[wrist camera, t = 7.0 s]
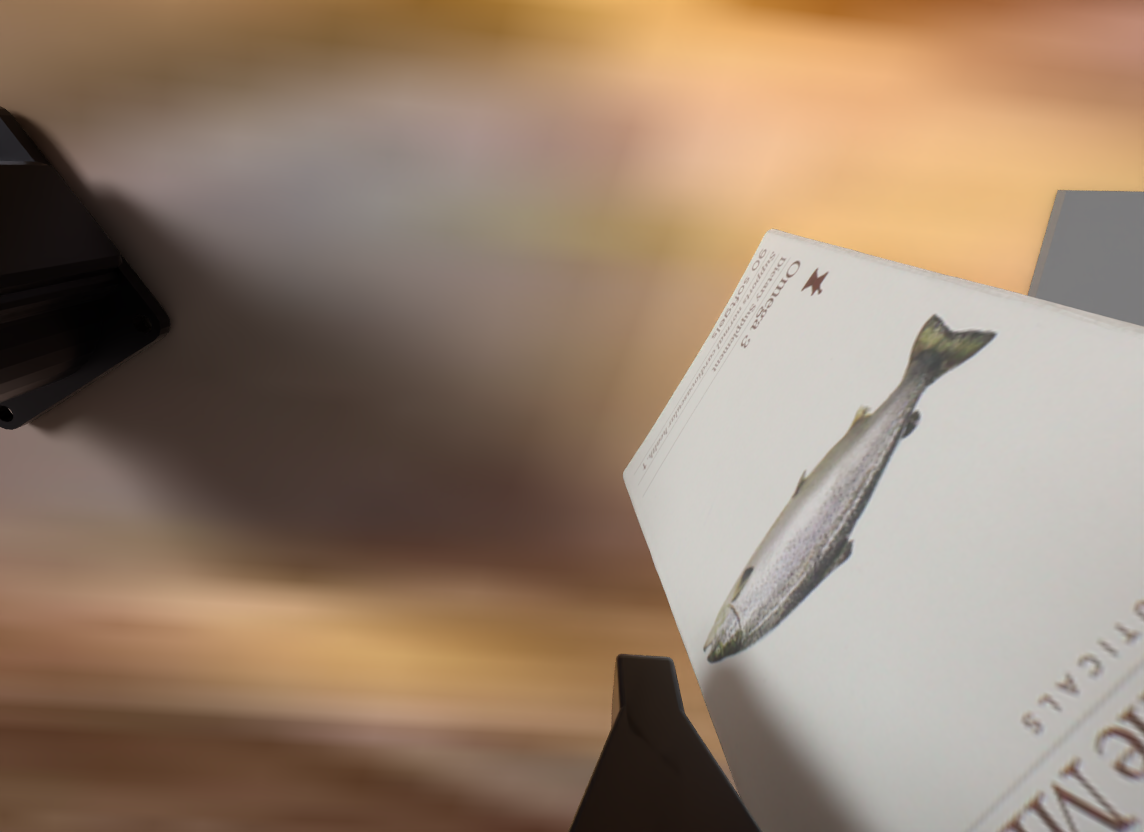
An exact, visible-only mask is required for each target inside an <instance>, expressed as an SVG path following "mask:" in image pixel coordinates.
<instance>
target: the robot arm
mask: <svg viewBox="0 0 1144 832" xmlns="http://www.w3.org/2000/svg"><path fill="white" fill-rule="evenodd" d="M143 315H144V316H146V317H147V318H148V319H149V320H150V322H151V329H150V328H148V327H147V326H146V325H145V323H144V321H143ZM169 330H170V319H169V317H168V315H167V314H166V312H165V311H164V309H163V308H162V307H161V305H160V304H159V303H158V302H157V300H156V299H155V298H154V296H153V295H152V294H151V293H150V291H149V290H148V289H147V287H146V286H145V285H144V284H143V282H142V281H141V280H140V278H139V277H138V276H137V275H136V273H135V272H134V271H133V270H132V268H131V267H130V266H129V264H128V263H127V262H126V261H125V259H124V258H123V257H122V255H121V254H120V252H119V251H118V249H117V248H116V247H115V245H114V244H113V243H112V242H111V240H110V239H109V238H108V237H107V235H106V234H105V233H104V231H103V230H102V229H101V228H100V226H99V225H98V224H97V222H96V221H95V220H94V219H93V217H92V216H91V215H90V213H89V212H88V211H87V210H86V208H85V207H84V206H83V204H82V203H81V202H80V201H79V199H78V198H77V197H76V195H75V194H74V193H73V192H72V190H71V189H70V188H69V186H68V185H67V184H66V183H65V181H64V180H63V179H62V178H61V176H60V175H59V174H58V172H57V171H56V170H55V169H54V168H53V167H52V166H51V164H50V163H49V162H48V161H47V159H46V158H45V157H44V155H43V154H42V153H41V152H40V150H39V149H38V148H37V146H36V145H35V144H34V143H33V141H32V140H31V139H30V137H29V136H28V135H27V134H26V132H25V131H24V130H23V128H22V127H21V126H20V125H19V123H18V122H17V121H16V120H15V118H14V117H13V116H12V115H11V114H10V113H9V112H8V111H7V110H6V109H4V108H2V107H0V427H2V428H4V429H10V430H13V429H16V428H19V427H21V426H23V425H25V424H28V423H30V422H31V421H33V420H35V419H36V418H38V417H39V416H41V415H42V414H44V413H46V412H47V411H49V410H50V409H52V408H53V407H55V406H57V405H58V404H60V403H61V402H63V401H64V400H66V399H68V398H69V397H71V396H72V395H74V394H75V393H77V392H78V391H80V390H82V389H83V388H85V387H86V386H88V385H89V384H91V383H93V382H94V381H96V380H97V379H99V378H100V377H102V376H104V375H105V374H107V373H108V372H110V371H111V370H113V369H114V368H116V367H118V366H119V365H121V364H122V363H124V362H125V361H127V360H129V359H130V358H132V357H133V356H135V355H136V354H138V353H140V352H141V351H143V350H144V349H146V348H147V347H149V346H151V345H152V344H154V343H155V342H157V341H158V340H160V339H161V338H163V337H165V336H166V335H167V333H168V332H169ZM8 408H9V409H10V410H11V411H12V413H13V414H12V413H11V412H10V410H9V409H8ZM568 832H762V830H761V829H760V827H759V826H758V824H757V823H756V821H755V820H754V818H753V816H752V815H751V813H750V812H749V810H748V809H747V807H746V806H745V804H744V803H743V801H742V800H741V798H740V797H739V795H738V794H737V792H736V791H735V789H734V788H733V786H732V784H731V783H730V781H729V780H728V778H727V777H726V775H725V774H724V772H723V771H722V769H721V768H720V766H719V765H718V763H717V762H716V760H715V759H714V757H713V756H712V754H711V752H710V751H709V749H708V748H707V746H706V745H705V743H704V742H703V740H702V739H701V737H700V736H699V734H698V733H697V731H696V730H695V728H694V727H693V725H692V724H691V722H690V720H689V719H688V717H687V716H686V714H685V712H684V708H683V703H682V698H681V694H680V689H679V684H678V680H677V675H676V670H675V666H674V662H673V660H672V659H671V658H669V657H660V656H643V655H630V654H620V655H618V656H617V658H616V662H615V674H614V686H613V699H612V725H611V731H610V733H609V736H608V738H607V740H606V743H605V745H604V747H603V750H602V752H601V755H600V757H599V759H598V762H597V764H596V766H595V769H594V771H593V774H592V776H591V778H590V781H589V783H588V786H587V788H586V790H585V793H584V795H583V797H582V800H581V802H580V805H579V807H578V809H577V812H576V814H575V816H574V819H573V821H572V824H571V826H570V828H569V831H568Z"/></svg>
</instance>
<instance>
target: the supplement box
mask: <svg viewBox="0 0 1144 832" xmlns="http://www.w3.org/2000/svg"><path fill="white" fill-rule="evenodd" d="M623 479H624V482H625V485H626V488H627V490H628V493H629V496H630V499H631V501H632V504H633V507H634V510H635V513H636V515H637V518H638V521H639V524H640V527H641V529H642V532H643V534H644V537H645V540H646V542H647V545H648V547H649V550H650V553H651V556H652V559H653V562H654V565H655V568H656V570H657V573H658V575H659V577H660V580H661V583H662V586H663V588H664V591H665V593H666V596H667V599H668V602H669V605H670V608H671V611H672V613H673V616H674V619H675V621H676V624H677V627H678V629H679V632H680V635H681V638H682V640H683V643H684V646H685V648H686V651H687V654H688V656H689V659H690V662H691V664H692V667H693V670H694V672H695V675H696V678H697V680H698V683H699V686H700V689H701V692H702V695H703V698H704V701H705V703H706V706H707V709H708V712H709V714H710V717H711V720H712V722H713V725H714V728H715V730H716V733H717V735H718V738H719V741H720V744H721V746H722V749H723V752H724V755H725V757H726V760H727V763H728V766H729V769H730V771H731V774H732V777H733V779H734V782H735V785H736V787H737V790H738V793H739V795H740V798H741V800H742V801H743V803H744V804H745V806H746V807H747V809H748V810H749V812H750V813H751V815H752V816H753V818H754V820H755V821H756V823H757V824H758V826H759V827H760V829H761V830H762V832H1144V327H1143V326H1140V325H1136V324H1132V323H1128V322H1124V321H1121V320H1117V319H1113V318H1109V317H1105V316H1102V315H1098V314H1094V313H1090V312H1086V311H1083V310H1079V309H1075V308H1072V307H1068V306H1064V305H1060V304H1057V303H1053V302H1049V301H1046V300H1042V299H1038V298H1034V297H1030V296H1026V295H1023V294H1019V293H1015V292H1011V291H1008V290H1004V289H1000V288H996V287H992V286H988V285H984V284H980V283H976V282H972V281H968V280H965V279H961V278H957V277H952V276H948V275H944V274H940V273H936V272H932V271H929V270H925V269H921V268H917V267H914V266H910V265H906V264H902V263H898V262H894V261H891V260H887V259H883V258H880V257H876V256H872V255H868V254H864V253H861V252H858V251H855V250H851V249H847V248H843V247H839V246H835V245H831V244H827V243H823V242H820V241H816V240H812V239H808V238H804V237H801V236H797V235H793V234H790V233H786V232H783V231H780V230H776V229H770V230H769V231H767V232H766V234H765V235H764V237H763V239H762V241H761V243H760V245H759V246H758V248H757V250H756V252H755V254H754V256H753V258H752V260H751V261H750V263H749V265H748V267H747V269H746V271H745V273H744V274H743V276H742V278H741V280H740V282H739V284H738V285H737V287H736V289H735V291H734V293H733V295H732V296H731V298H730V300H729V302H728V303H727V305H726V307H725V308H724V310H723V312H722V314H721V315H720V317H719V319H718V321H717V322H716V324H715V326H714V328H713V330H712V331H711V333H710V335H709V336H708V338H707V340H706V341H705V343H704V345H703V346H702V348H701V350H700V351H699V353H698V355H697V356H696V358H695V360H694V361H693V363H692V364H691V366H690V368H689V369H688V371H687V373H686V374H685V376H684V378H683V379H682V381H681V382H680V384H679V385H678V387H677V389H676V390H675V392H674V393H673V395H672V397H671V398H670V400H669V402H668V403H667V405H666V407H665V408H664V410H663V411H662V413H661V415H660V416H659V418H658V419H657V421H656V423H655V424H654V426H653V428H652V429H651V431H650V432H649V434H648V435H647V437H646V438H645V440H644V441H643V443H642V445H641V446H640V448H639V449H638V451H637V452H636V454H635V455H634V457H633V458H632V460H631V461H630V463H629V464H628V466H627V467H626V469H625V470H624V472H623Z"/></svg>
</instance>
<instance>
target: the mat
mask: <svg viewBox="0 0 1144 832" xmlns="http://www.w3.org/2000/svg"><path fill="white" fill-rule="evenodd" d="M1028 296H1030V297H1034V298H1038V299H1042V300H1046V301H1049V302H1053V303H1057V304H1060V305H1064V306H1068V307H1072V308H1075V309H1079V310H1083V311H1086V312H1090V313H1094V314H1098V315H1102V316H1105V317H1109V318H1113V319H1117V320H1121V321H1124V322H1128V323H1132V324H1136V325H1140V326H1143V327H1144V192H1127V191H1071V190H1058V191H1057V195H1056V198H1055V202H1054V205H1053V209H1052V212H1051V216H1050V219H1049V223H1048V226H1047V230H1046V233H1045V237H1044V240H1043V244H1042V247H1041V251H1040V254H1039V258H1038V261H1037V265H1036V268H1035V272H1034V275H1033V279H1032V282H1031V285H1030V289H1029V292H1028Z"/></svg>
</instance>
